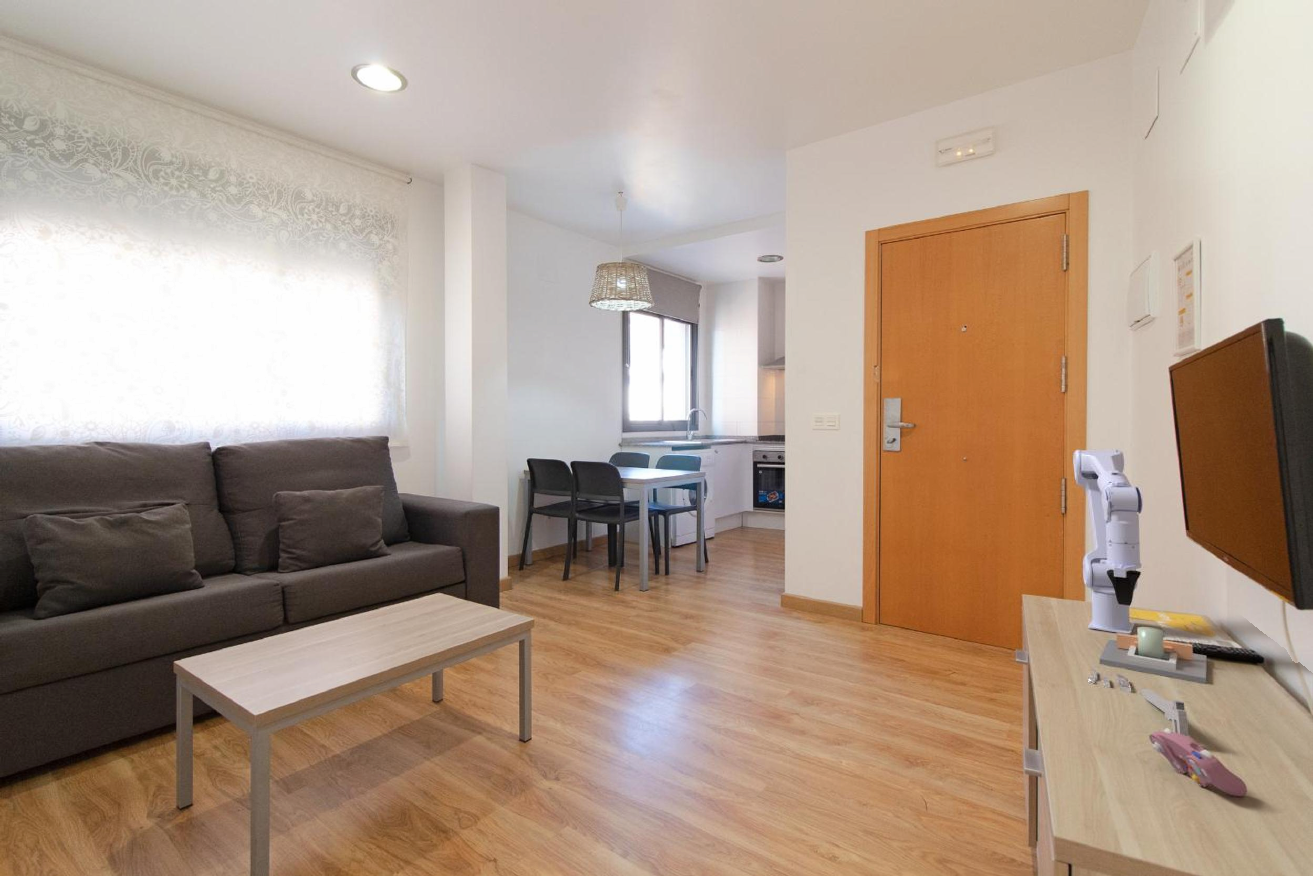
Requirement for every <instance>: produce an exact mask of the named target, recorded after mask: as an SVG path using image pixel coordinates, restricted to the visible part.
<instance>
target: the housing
mask: <svg viewBox="0 0 1313 876" xmlns="http://www.w3.org/2000/svg"><path fill="white" fill-rule="evenodd" d="M1207 659H1208V658H1207V655H1204V654H1198V653H1194V652H1193V660H1187V659H1181V658H1177V653H1174V652H1172V653H1171V652H1165V651H1164V660H1160V659H1155V658H1149V657H1143V656H1139V655H1138V647H1135V646H1132V645H1131V646H1130V648H1129V649H1123V648H1117V640H1113V639H1108V640H1107V643H1106V644H1105V647H1104V649H1103V651H1102V653H1101V655H1100V657H1099V664H1100V665H1104V666H1111V667H1116V668H1121V669H1126V670H1132V671H1136V672H1141V673H1147V674H1152V675H1157V676H1163V677H1167V678H1174V679H1179V680H1182V681H1183V680H1184V681H1189V682H1195V683H1198V684H1199V683H1200V684H1205V685H1206V684H1207V665H1208V664H1207V661H1208V660H1207Z"/></svg>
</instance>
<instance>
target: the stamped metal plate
mask: <svg viewBox="0 0 1313 876" xmlns="http://www.w3.org/2000/svg"><path fill="white" fill-rule="evenodd" d="M1091 672H1092V673H1091V674H1092V675H1090V676H1089V675H1088V676H1086V677H1087V678H1086V682H1087V683H1088V682H1089V683H1088V684H1091V683H1095V684H1096V681H1098V675H1101V673H1099V674H1098V672H1097V670H1096V669H1095V668H1094V669H1093V668H1092V671H1091ZM1093 675H1094V676H1093ZM1104 675H1106V676H1108V674H1106V673H1104ZM1106 676H1101V677H1102V678H1101V680H1102V683H1103V686H1104V687H1103V686H1102V687H1101V686H1099V688H1101V689H1104V688H1105V689H1107V690H1110V689H1111V684H1110V683H1111V682H1110V679H1109V677H1106ZM1110 676H1111V677H1113V678H1115V679H1116V680H1117V681H1118V685H1119V689H1118V691H1119V692H1120V691H1121V692H1126V693H1132V686H1131V684H1130V681H1129V679H1128V678H1127V677H1125V676H1123V675H1120V674H1118V673H1115V676H1114V675H1111V674H1110ZM1113 690H1115V691H1117V689H1114V688H1112V691H1113Z"/></svg>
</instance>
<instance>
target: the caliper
mask: <svg viewBox="0 0 1313 876" xmlns="http://www.w3.org/2000/svg"><path fill="white" fill-rule="evenodd" d="M1140 693H1141V694H1142V696H1143V697H1144V699H1145V700H1147V701H1148V702H1149V703H1150V704H1152V705H1154V706H1155V707H1156V708H1158V709H1159V710H1161V711H1162V712H1163V713H1164V718H1165V719H1166V720H1168V721H1171V724H1172V731H1173V733H1179V734H1183V735H1186V736H1188V737H1189V725H1188V717H1187V711H1186V709H1185V703H1184V701H1183V702H1182V700H1178V699H1172V701H1171V700H1166V699H1164V698H1163V697H1161V696H1160V695H1159V694H1157V693H1155V692H1154V691H1152V690H1151V689H1149V688H1142V689H1141V690H1140Z"/></svg>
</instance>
